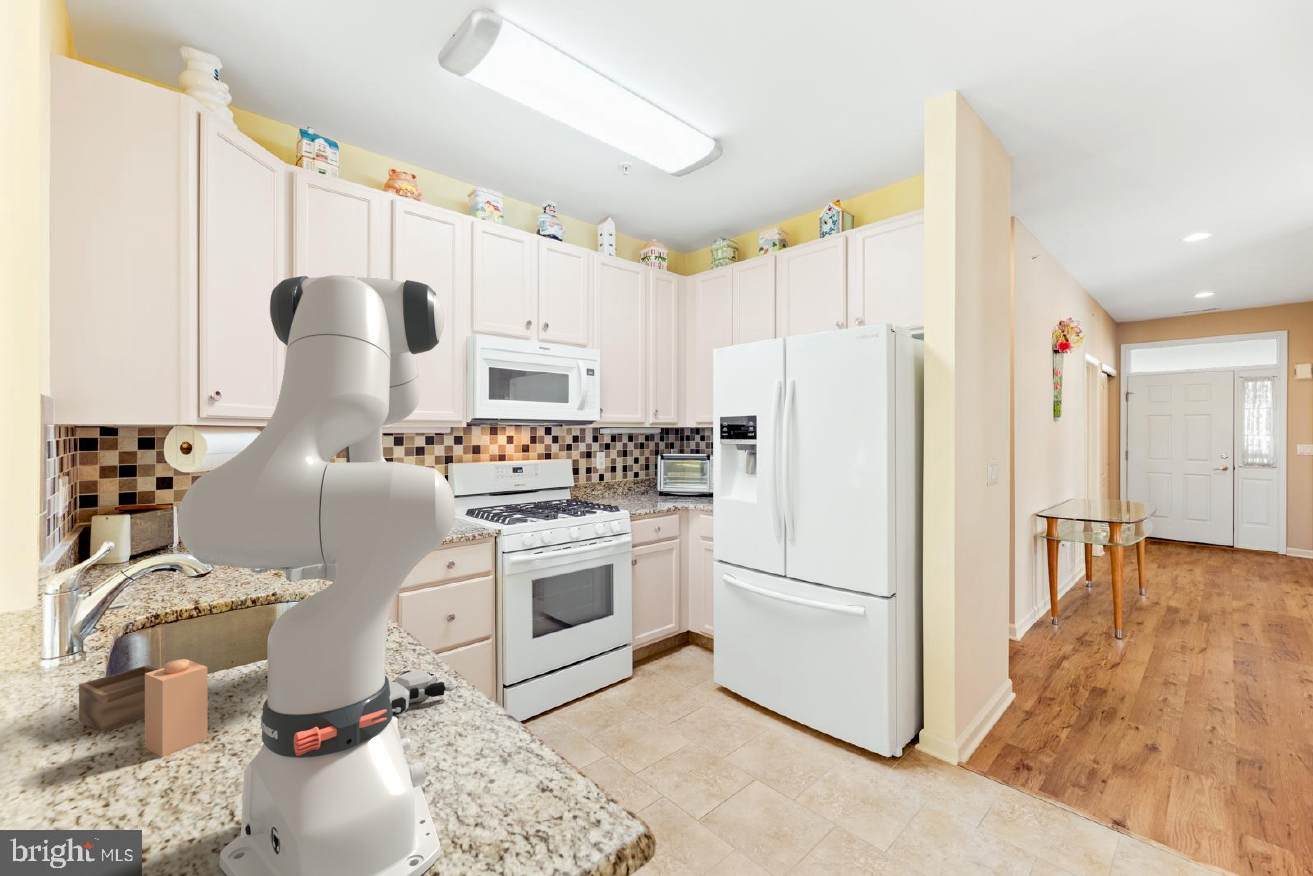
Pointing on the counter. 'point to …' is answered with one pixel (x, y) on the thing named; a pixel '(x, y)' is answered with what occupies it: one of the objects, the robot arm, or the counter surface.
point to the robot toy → (415, 689)
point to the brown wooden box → (114, 699)
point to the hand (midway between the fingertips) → (270, 572)
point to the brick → (176, 707)
